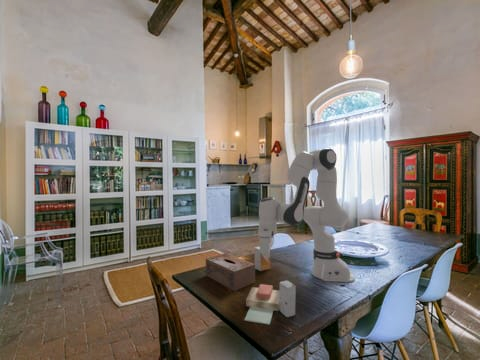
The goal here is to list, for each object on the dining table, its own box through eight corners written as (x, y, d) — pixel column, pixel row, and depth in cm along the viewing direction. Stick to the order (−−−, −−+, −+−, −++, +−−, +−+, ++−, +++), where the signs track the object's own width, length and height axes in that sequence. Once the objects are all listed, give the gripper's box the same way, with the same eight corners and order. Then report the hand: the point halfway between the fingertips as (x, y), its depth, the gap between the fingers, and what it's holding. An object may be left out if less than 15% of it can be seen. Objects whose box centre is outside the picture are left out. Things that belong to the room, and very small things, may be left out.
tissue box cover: (206, 275, 136) (205, 258, 136) (225, 269, 146) (225, 253, 146) (234, 291, 117) (234, 271, 117) (255, 282, 126) (255, 264, 126)
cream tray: (281, 297, 110) (281, 290, 110) (278, 311, 99) (278, 303, 99) (252, 293, 114) (252, 287, 114) (246, 306, 103) (245, 299, 103)
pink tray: (260, 288, 113) (260, 284, 113) (272, 289, 111) (272, 285, 111) (256, 297, 105) (256, 292, 105) (269, 299, 103) (269, 294, 103)
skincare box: (278, 310, 100) (278, 281, 99) (287, 307, 101) (287, 279, 101) (287, 318, 94) (286, 287, 94) (296, 315, 96) (296, 285, 96)
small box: (260, 271, 140) (260, 250, 140) (254, 268, 146) (254, 247, 146) (271, 268, 145) (270, 247, 145) (264, 265, 150) (264, 245, 150)
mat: (273, 310, 99) (273, 309, 99) (269, 324, 90) (269, 323, 90) (250, 307, 102) (250, 306, 102) (244, 320, 93) (244, 319, 93)
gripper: (265, 225, 128) (265, 251, 128) (257, 233, 109) (257, 263, 109) (276, 226, 127) (276, 252, 127) (270, 234, 107) (270, 265, 107)
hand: (267, 257), depth 117 cm, fingers closed
